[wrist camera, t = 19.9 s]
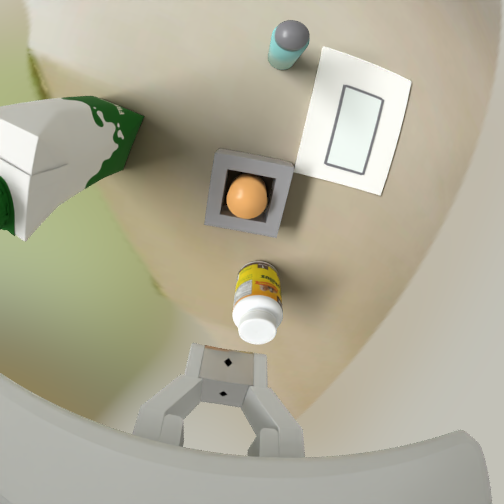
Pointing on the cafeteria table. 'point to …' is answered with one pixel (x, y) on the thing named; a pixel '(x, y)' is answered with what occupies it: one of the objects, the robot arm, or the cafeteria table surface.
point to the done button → (247, 196)
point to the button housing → (254, 165)
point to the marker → (287, 44)
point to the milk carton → (57, 154)
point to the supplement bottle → (257, 302)
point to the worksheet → (352, 122)
